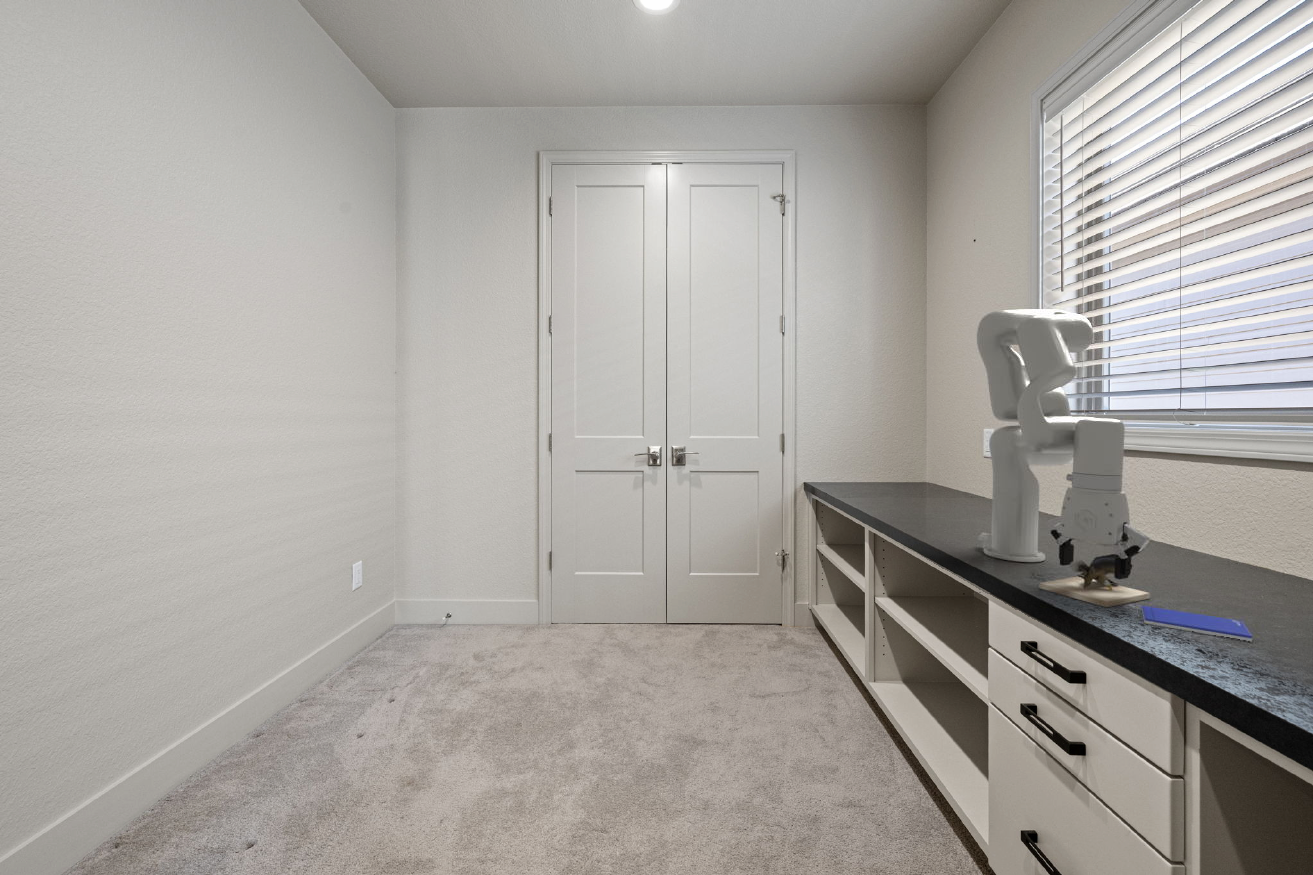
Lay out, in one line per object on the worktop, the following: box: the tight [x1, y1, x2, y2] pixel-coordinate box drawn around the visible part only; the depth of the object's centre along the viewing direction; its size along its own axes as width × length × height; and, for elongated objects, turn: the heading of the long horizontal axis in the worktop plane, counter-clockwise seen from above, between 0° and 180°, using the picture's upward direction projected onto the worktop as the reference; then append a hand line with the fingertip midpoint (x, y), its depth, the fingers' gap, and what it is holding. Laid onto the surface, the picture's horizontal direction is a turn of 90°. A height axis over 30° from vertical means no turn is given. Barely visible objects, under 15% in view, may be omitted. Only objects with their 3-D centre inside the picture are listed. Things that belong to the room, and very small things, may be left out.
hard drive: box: [1141, 605, 1253, 643], centre depth 93 cm, size 2×8×12 cm
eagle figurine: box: [1069, 553, 1134, 590], centre depth 110 cm, size 8×7×9 cm
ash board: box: [1038, 576, 1151, 608], centre depth 109 cm, size 12×13×1 cm
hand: (1092, 571), depth 109 cm, fingers open, 9 cm apart
